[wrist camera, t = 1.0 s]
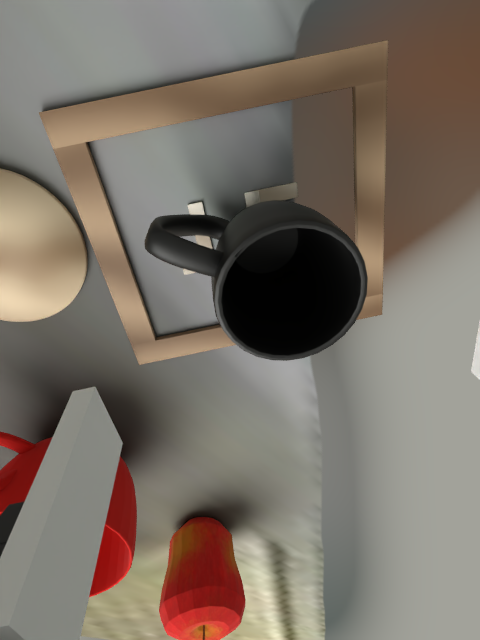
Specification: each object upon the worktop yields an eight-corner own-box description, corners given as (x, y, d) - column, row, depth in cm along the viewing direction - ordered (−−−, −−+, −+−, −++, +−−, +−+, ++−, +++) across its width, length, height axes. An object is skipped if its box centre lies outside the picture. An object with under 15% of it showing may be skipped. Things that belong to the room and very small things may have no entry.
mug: (183, 134, 24) (177, 150, 16) (339, 212, 27) (400, 259, 19) (141, 248, 27) (118, 311, 19) (284, 304, 31) (317, 378, 22)
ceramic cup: (69, 352, 31) (21, 447, 22) (170, 469, 39) (164, 571, 31) (-58, 410, 33) (-148, 520, 24) (66, 510, 41) (31, 619, 32)
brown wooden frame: (41, 112, 23) (38, 112, 22) (384, 41, 22) (388, 40, 22) (140, 361, 32) (139, 364, 32) (379, 311, 32) (382, 314, 32)
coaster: (-124, 185, 24) (-131, 187, 23) (48, 149, 24) (44, 150, 23) (-29, 330, 29) (-33, 334, 29) (109, 301, 29) (108, 305, 29)
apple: (157, 544, 46) (146, 669, 36) (177, 502, 42) (171, 628, 32) (223, 551, 48) (230, 671, 38) (247, 512, 44) (262, 633, 34)
